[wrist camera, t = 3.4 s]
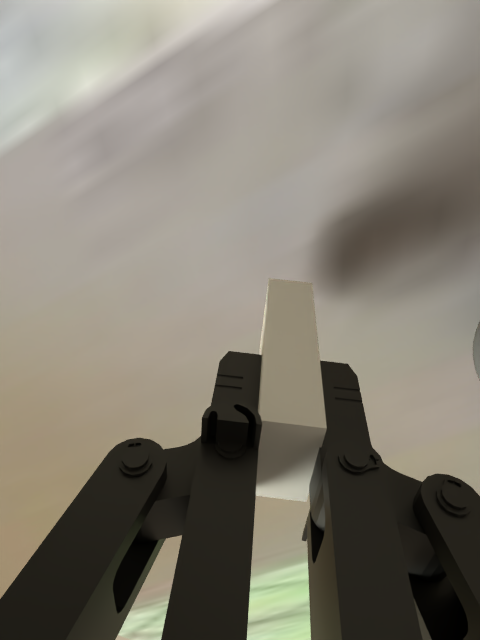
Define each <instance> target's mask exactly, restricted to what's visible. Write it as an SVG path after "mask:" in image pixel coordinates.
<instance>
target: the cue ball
mask: <svg viewBox="0 0 480 640" xmlns="http://www.w3.org/2000/svg"><path fill="white" fill-rule="evenodd" d="M473 359H474V365H475V370H476V373H477V375H478V378H479V380H480V322H479V324H478V327H477V329H476V333H475V337H474V342H473Z"/></svg>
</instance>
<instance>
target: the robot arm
mask: <svg viewBox="0 0 480 640" xmlns="http://www.w3.org/2000/svg"><path fill="white" fill-rule="evenodd" d="M309 493H310V510H309V514H308V517H307V521H306V524H305V528H304V531H303V536H302V540H303V541H306V540H307V544H308V570H309V596H310V622H311V640H480V496H479V495H478V494H477V493H476V492H475V490H474V489H473V488H472V487H471V486H469V485H468V484H466V483H465V482H463V481H462V480H460V479H458V478H455V477H453V476H450V475H446V474H434V475H431V476H428V477H427V478H426V479H425V480H424V481H423V482H421V481H418V480H416V479H413V478H411V477H408V476H406V475H403V474H401V473H399V472H397V471H395V470H393V469H391V468H390V467H388V466H387V465H385V464H384V463H383V461H382V459H381V457H380V455H379V454H378V453H377V452H376V451H375V450H374V449H373V448H372V445H371V442H370V437H369V432H368V427H367V422H366V417H365V412H364V407H363V403H362V398H361V393H360V388H359V383H358V378H357V375H356V374H355V373H354V372H353V370H352V369H351V368H350V366H349V365H348V364H344V363H336V362H327V361H320V356H319V346H318V336H317V327H316V317H315V307H314V297H313V287H312V283H306V282H297V281H288V280H279V279H270V278H269V281H268V288H267V296H266V303H265V311H264V319H263V326H262V334H261V342H260V354H259V355H258V354H249V353H241V352H232V351H229V352H228V353H227V354H226V355H225V356H224V357H223V358H222V359H221V361H220V363H219V368H218V373H217V378H216V383H215V388H214V393H213V398H212V403H211V406H210V407H209V408H207V409H206V411H205V413H204V415H203V417H202V432H201V436H200V437H199V438H198V439H197V440H195V441H194V442H192V443H190V444H188V445H185V446H181V447H177V448H170V449H164V450H163V449H162V447H161V446H160V445H159V444H157V443H156V442H154V441H152V440H150V439H143V438H135V439H129V440H126V441H124V442H122V443H120V444H118V445H116V446H115V447H114V448H113V449H112V450H111V451H110V452H109V453H108V454H107V456H106V457H105V458H104V460H103V461H102V463H101V464H100V465H99V467H98V468H97V469H96V471H95V472H94V473H93V475H92V476H91V477H90V479H89V480H88V481H87V483H86V484H85V485H84V487H83V488H82V490H81V491H80V492H79V494H78V495H77V496H76V498H75V499H74V500H73V502H72V503H71V504H70V506H69V507H68V508H67V510H66V511H65V513H64V514H63V515H62V517H61V518H60V519H59V521H58V522H57V523H56V525H55V526H54V527H53V529H52V530H51V531H50V533H49V534H48V535H47V537H46V538H45V540H44V541H43V542H42V544H41V545H40V546H39V548H38V549H37V550H36V552H35V553H34V554H33V556H32V557H31V558H30V560H29V561H28V562H27V564H26V565H25V567H24V568H23V569H22V571H21V572H20V573H19V575H18V576H17V577H16V579H15V580H14V581H13V583H12V584H11V585H10V587H9V588H8V590H7V591H6V592H5V594H4V595H3V596H2V598H1V599H0V640H115V639H116V637H117V635H118V633H119V631H120V629H121V627H122V625H123V623H124V621H125V619H126V617H127V615H128V613H129V611H130V609H131V607H132V605H133V603H134V601H135V599H136V597H137V595H138V593H139V591H140V589H141V587H142V585H143V583H144V581H145V579H146V577H147V575H148V573H149V571H150V569H151V567H152V565H153V563H154V561H155V559H156V557H157V555H158V553H159V551H160V549H161V547H162V545H163V543H164V541H165V539H166V538H170V537H175V536H180V535H182V540H181V544H180V549H179V554H178V559H177V564H176V569H175V574H174V579H173V584H172V589H171V594H170V599H169V604H168V609H167V614H166V619H165V624H164V629H163V634H162V639H161V640H247V624H248V608H249V592H250V576H251V560H252V544H253V528H254V512H255V496H264V497H272V498H280V499H288V500H296V501H304V502H306V501H307V498H308V494H309Z"/></svg>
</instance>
